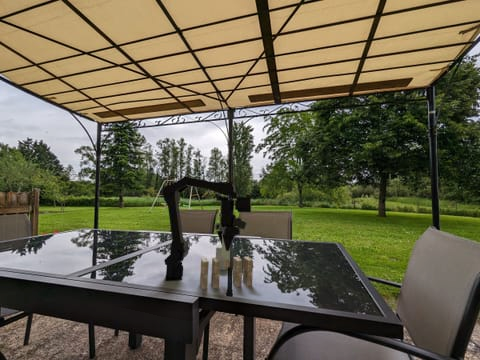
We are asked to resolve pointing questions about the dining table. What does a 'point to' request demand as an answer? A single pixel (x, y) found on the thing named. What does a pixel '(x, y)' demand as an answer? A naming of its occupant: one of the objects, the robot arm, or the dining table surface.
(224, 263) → the small box
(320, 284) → the dining table surface
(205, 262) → the domino
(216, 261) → the domino
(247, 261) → the domino
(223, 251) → the domino
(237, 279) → the domino
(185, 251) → the robot arm
